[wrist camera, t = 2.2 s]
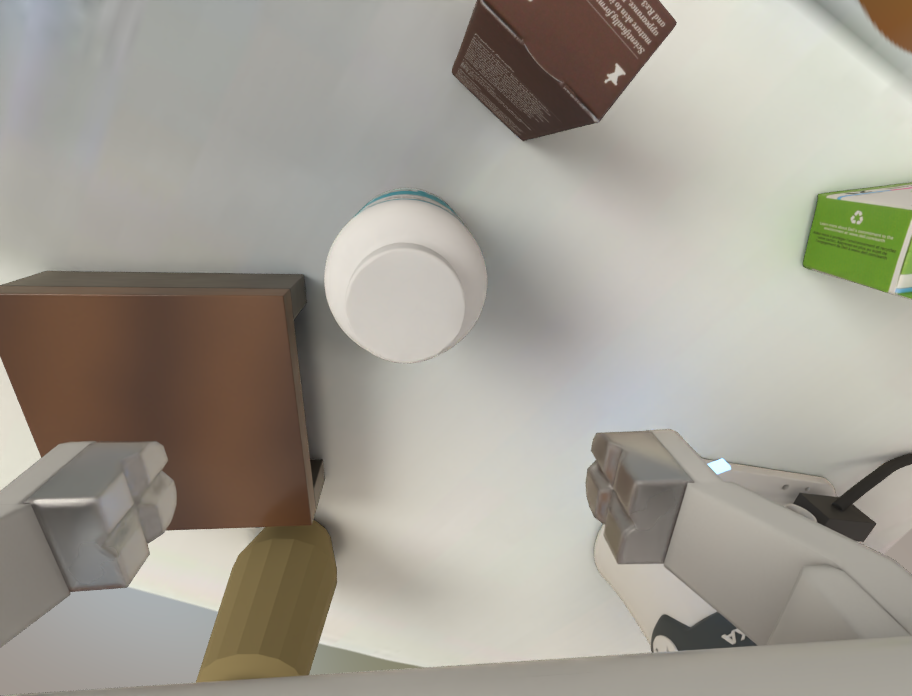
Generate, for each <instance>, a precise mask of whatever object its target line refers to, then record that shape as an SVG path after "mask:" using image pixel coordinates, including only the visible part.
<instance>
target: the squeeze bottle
mask: <svg viewBox="0 0 912 696" xmlns="http://www.w3.org/2000/svg"><path fill="white" fill-rule="evenodd" d="M336 584H337V568H336V563H335V558H334V553H333V547H332V542H331V537H330V536H329V534H328V532H327V530H326V529H325V528H324V527H323V526H322V525H320V524H319V523H318V522H316V521H315V520H313V523H312V525H306V526H277V527H265V528H264V529H263V530H262V531H261V532H260V533H259V535H258V536H257V537H256V538H255V539H254V540H253V541H252V542H251V543H250V544H249V545H248V546H247V547H246V548H245V549H244V550H243V551H242V552H241V553H240V554H239V556H238V558H237V560H236V562H235V564H234V566H233V568H232V571H231V574H230V577H229V580H228V584H227V587H226V590H225V593H224V596H223V599H222V602H221V605H220V609H219V612H218V615H217V618H216V621H215V624H214V627H213V630H212V634H211V637H210V640H209V643H208V646H207V649H206V653H205V655H204V659H203V662H202V665H201V668H200V671H199V674H198V677H197V680H196V683H198V682H213V681H229V680H244V679H259V678H275V677H290V676H305V675H309V672H310V669H311V666H312V663H313V660H314V656H315V653H316V650H317V646H318V643H319V640H320V637H321V633H322V630H323V627H324V624H325V620H326V617H327V614H328V611H329V607H330V604H331V601H332V597H333V594H334V591H335V588H336Z"/></svg>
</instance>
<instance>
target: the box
mask: <svg viewBox="0 0 912 696" xmlns="http://www.w3.org/2000/svg"><path fill="white" fill-rule="evenodd" d="M676 23H677V22H676V21H675V19H674V18H673V17H672V16H671V14H670V13H669V12H668V11H667V10H666V8H665V7H664V6H663V5H662V4H661V2H660V1H659V0H477V1H476V4H475V8H474V10H473V13H472V16H471V19H470V22H469V25H468V27H467V30H466V33H465V36H464V39H463V42H462V45H461V47H460V50H459V53H458V55H457V58H456V60H455V62H454V65H453V68H452V73H453V75H454V76H455V77H456V78H457V79H458V80H459V81H460V82H461V83H462V84H463V85H464V86H465V87H466V88H467V89H468V90H469V91H470V92H472V93H473V94H474V95H475V96H476V97H477V98H478V99H479V100H480V101H481V102H482V103H483V104H484V105H485V106H486V107H487V108H488V109H489V110H490V111H491V112H492V113H493V114H494V115H495V116H496V117H498V118H499V119H500V120H501V121H502V122H503V123H504V124H505V125H506V126H507V127H508V128H509V129H510V130H511V131H512V132H513V133H515V134H516V135H517V136H518V137H519V138H520V139H521V140H522V141H525V140H528V139H533V138H537V137H541V136H545V135H549V134H553V133H557V132H561V131H564V130H569V129H573V128H577V127H582V126H585V125H590V124H594V123H598V122H600V120H601V119H602V118H603V116H604V115H605V114H606V112H607V111H608V110H609V109H610V108H611V106H612V105H613V104H614V102H615V101H616V100H617V99H618V97H619V96H620V95H621V94H622V92H623V91H624V90H625V88H626V87H627V86H628V85H629V83H630V82H631V81H632V80H633V78H634V77H635V76H636V74H637V73H638V72H639V71H640V69H641V68H642V67H643V66H644V64H645V63H646V62H647V61H648V60H649V58H650V57H651V56H652V54H653V53H654V52H655V51H656V50H657V48H658V47H659V46H660V45H661V43H662V42H663V41H664V40H665V38H666V37H667V36H668V35H669V34H670V32H671V31H672V30H673V28H674V27H675V25H676Z"/></svg>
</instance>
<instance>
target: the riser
mask: <svg viewBox="0 0 912 696" xmlns="http://www.w3.org/2000/svg"><path fill="white" fill-rule="evenodd" d="M306 303H307V301H306V291H305V281H304V275H303V274H235V273H155V272H76V271H45V272H41V273H38V274H35V275H32V276H29V277H25V278H22V279H19V280H16V281H13V282H9V283H6V284H3V285H0V357H1V359H2V362H3V364H4V367H5V369H6V372H7V374H8V377H9V379H10V382H11V384H12V386H13V389H14V391H15V394H16V396H17V399H18V401H19V404H20V406H21V409H22V411H23V414H24V416H25V418H26V421H27V423H28V426H29V428H30V431H31V433H32V436H33V438H34V441H35V443H36V445H37V448H38V450H39V453H40V455H41V458H42V457H43V456H45V455H46V454H47V453H48V452H50V451H51V450H52V449H53V448H55V447H56V446H57V445H58V444H62V443H67V442H81V441H95V442H98V441H156V442H158V443H160V444H162V445H163V446H164V449H165V452H166V455H167V458H168V462H167V463H166V465H165V467H164V468H163V470H162V471H163V472H164V473H166V474H167V475H168V476H169V477H170V478H172V479H173V480H174V483H175V487H176V492H177V504H176V508H175V511H174V515H173V518H172V521H171V522H170V524H169V526H168V527H167V529H166V530H190V529H219V528H248V527H277V526H306V525H312V523H313V519H314V516H315V512H316V509H317V505H318V502H319V498H320V495H321V491H322V488H323V484H324V481H325V475H324V465H323V460H310V455H309V447H308V438H307V430H306V421H305V413H304V404H303V396H302V387H301V378H300V370H299V361H298V353H297V344H296V336H295V327H294V319H295V318H296V316H297V315H298V314H299V312H300V311H301V310H302V308H303V307H304V306H305V304H306Z"/></svg>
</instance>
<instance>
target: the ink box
mask: <svg viewBox="0 0 912 696" xmlns="http://www.w3.org/2000/svg"><path fill="white" fill-rule="evenodd" d="M803 266H804V267H805V268H808V269H811V270H814V271H818V272H821V273H824V274H827V275H831V276H834V277H837V278H841V279H844V280H848V281H851V282H854V283H857V284H861V285H864V286H867V287H870V288H874V289H877V290H880V291H883V292H887V293H890V294H893V295H898V296H901V297H904V298H907V299H911V300H912V182H911V183H903V184H894V185H887V186H879V187H870V188H862V189H854V190H846V191H837V192H830V193H823V194H818V201H817V206H816V210H815V214H814V219H813V222H812V226H811V230H810V235H809V239H808V243H807V248H806V252H805V256H804V261H803Z"/></svg>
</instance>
